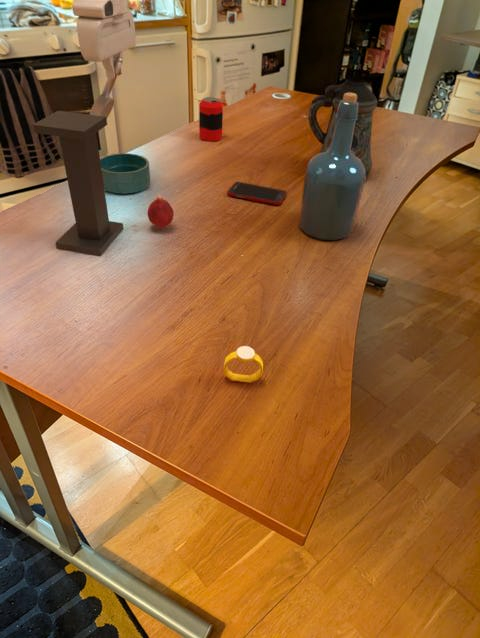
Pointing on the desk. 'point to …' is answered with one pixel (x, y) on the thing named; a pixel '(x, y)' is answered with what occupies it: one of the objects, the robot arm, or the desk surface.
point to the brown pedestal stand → (82, 181)
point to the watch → (245, 356)
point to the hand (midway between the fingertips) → (114, 76)
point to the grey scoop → (106, 94)
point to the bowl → (125, 173)
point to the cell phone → (257, 193)
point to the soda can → (210, 119)
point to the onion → (160, 213)
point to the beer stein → (362, 124)
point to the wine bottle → (334, 181)
